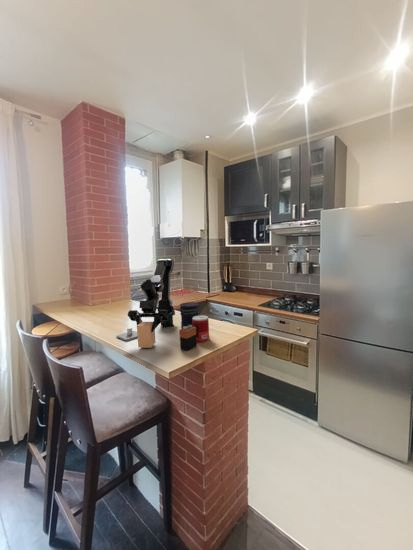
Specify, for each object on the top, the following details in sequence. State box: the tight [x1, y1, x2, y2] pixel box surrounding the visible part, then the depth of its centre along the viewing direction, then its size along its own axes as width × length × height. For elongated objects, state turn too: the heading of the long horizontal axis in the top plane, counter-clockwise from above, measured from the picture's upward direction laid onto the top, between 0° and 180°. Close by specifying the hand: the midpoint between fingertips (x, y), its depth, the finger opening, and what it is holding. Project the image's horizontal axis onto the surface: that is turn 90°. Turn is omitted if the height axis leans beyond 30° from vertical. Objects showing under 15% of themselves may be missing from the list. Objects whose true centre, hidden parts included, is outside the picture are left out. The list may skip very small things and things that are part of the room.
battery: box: [178, 325, 198, 352], centre depth 115 cm, size 4×7×10 cm, turn 143°
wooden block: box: [136, 321, 157, 349], centre depth 118 cm, size 6×6×10 cm
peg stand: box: [115, 327, 138, 342], centre depth 134 cm, size 10×10×4 cm
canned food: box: [192, 314, 210, 343], centre depth 124 cm, size 8×8×11 cm
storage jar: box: [179, 301, 200, 329], centre depth 137 cm, size 10×10×15 cm
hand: (145, 331), depth 116 cm, fingers closed on wooden block, 6 cm apart
